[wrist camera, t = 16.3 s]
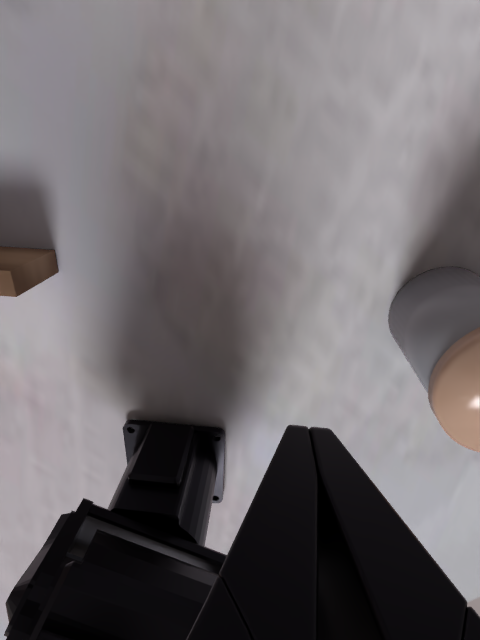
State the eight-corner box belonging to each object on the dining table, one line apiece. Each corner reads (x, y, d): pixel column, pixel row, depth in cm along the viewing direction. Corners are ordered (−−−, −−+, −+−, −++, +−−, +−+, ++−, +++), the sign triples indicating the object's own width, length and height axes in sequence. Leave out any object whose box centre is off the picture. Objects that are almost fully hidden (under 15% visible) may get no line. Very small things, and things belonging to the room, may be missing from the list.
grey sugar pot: (476, 362, 20) (567, 461, 13) (374, 354, 20) (418, 447, 14) (513, 266, 17) (645, 333, 11) (397, 259, 18) (464, 320, 11)
